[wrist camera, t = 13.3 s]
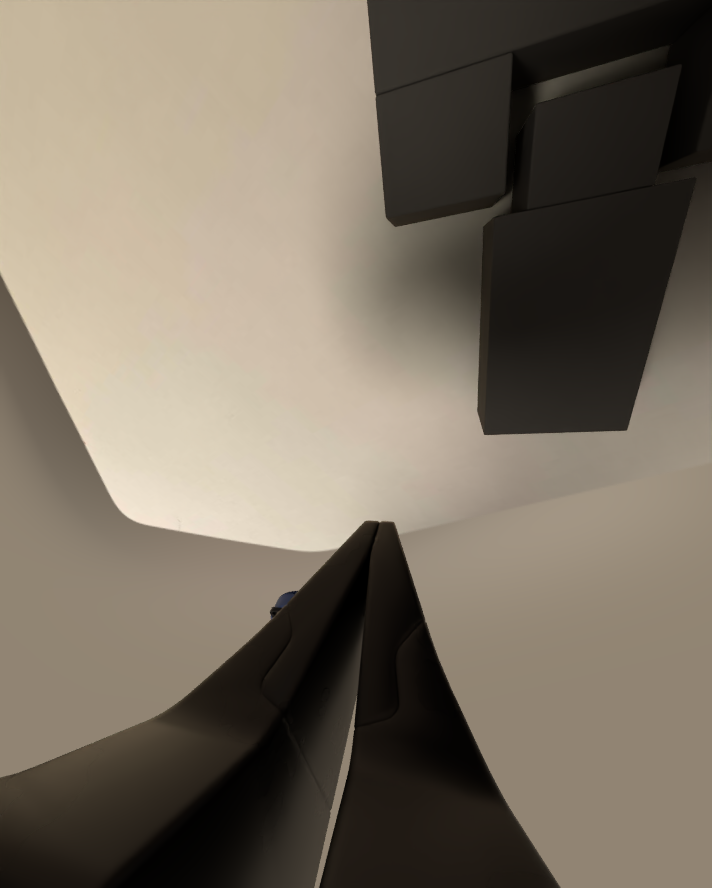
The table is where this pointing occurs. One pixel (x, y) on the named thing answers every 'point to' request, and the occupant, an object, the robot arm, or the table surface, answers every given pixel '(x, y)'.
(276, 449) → the table surface
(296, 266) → the table surface
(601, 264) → the small black block
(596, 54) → the large black pad
